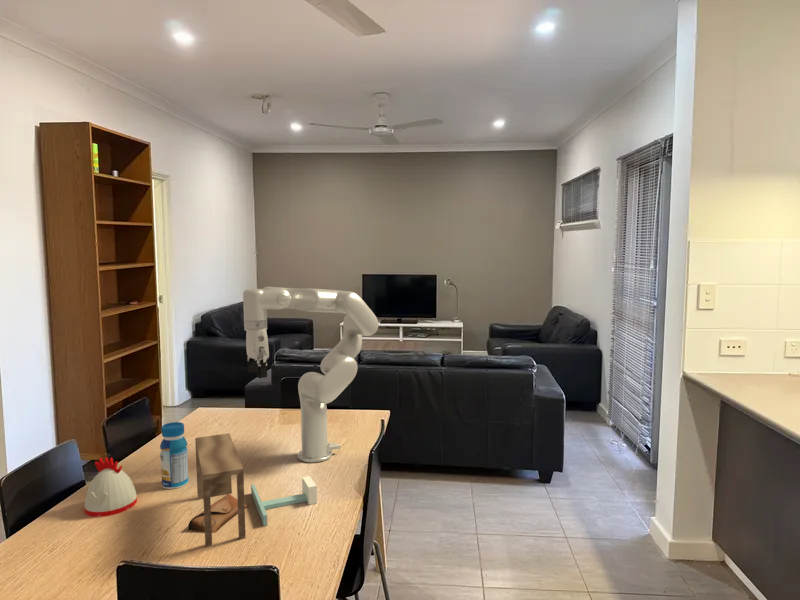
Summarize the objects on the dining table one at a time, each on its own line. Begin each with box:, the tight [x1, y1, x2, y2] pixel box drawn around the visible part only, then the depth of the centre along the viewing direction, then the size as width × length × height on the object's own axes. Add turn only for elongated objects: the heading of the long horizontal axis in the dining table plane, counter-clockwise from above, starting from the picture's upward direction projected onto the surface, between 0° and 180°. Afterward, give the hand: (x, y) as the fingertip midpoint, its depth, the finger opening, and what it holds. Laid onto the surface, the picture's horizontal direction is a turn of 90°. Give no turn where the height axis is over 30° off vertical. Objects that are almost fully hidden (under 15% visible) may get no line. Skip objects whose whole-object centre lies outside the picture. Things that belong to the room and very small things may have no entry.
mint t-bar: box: [250, 475, 318, 527], centre depth 160 cm, size 17×22×5 cm
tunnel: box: [194, 432, 247, 548], centre depth 152 cm, size 10×30×19 cm, turn 24°
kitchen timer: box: [83, 457, 138, 518], centre depth 159 cm, size 14×14×15 cm
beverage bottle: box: [159, 421, 190, 490], centre depth 173 cm, size 8×8×20 cm
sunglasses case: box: [187, 493, 250, 534], centre depth 152 cm, size 18×7×7 cm
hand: (257, 374), depth 181 cm, fingers open, 9 cm apart
